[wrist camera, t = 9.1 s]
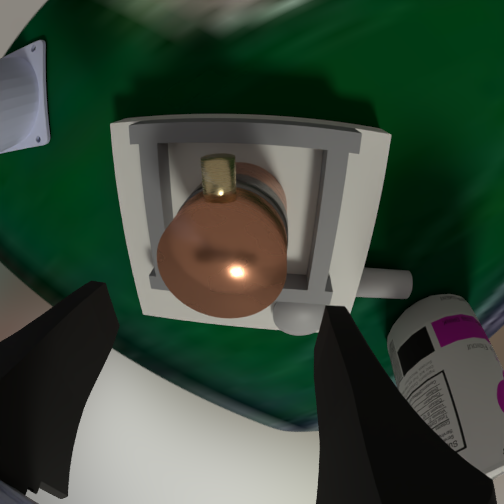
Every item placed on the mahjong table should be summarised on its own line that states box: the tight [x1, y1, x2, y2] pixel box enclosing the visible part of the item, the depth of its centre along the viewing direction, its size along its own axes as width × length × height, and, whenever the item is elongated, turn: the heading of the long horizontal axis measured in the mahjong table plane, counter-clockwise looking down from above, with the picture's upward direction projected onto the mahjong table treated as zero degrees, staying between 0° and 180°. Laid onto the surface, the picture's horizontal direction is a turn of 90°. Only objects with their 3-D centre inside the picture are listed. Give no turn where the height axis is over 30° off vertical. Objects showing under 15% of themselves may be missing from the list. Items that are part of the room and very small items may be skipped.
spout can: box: [157, 153, 288, 318], centre depth 14 cm, size 5×7×6 cm
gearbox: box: [110, 114, 413, 335], centre depth 18 cm, size 19×14×4 cm
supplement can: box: [387, 294, 504, 480], centre depth 16 cm, size 8×8×15 cm
